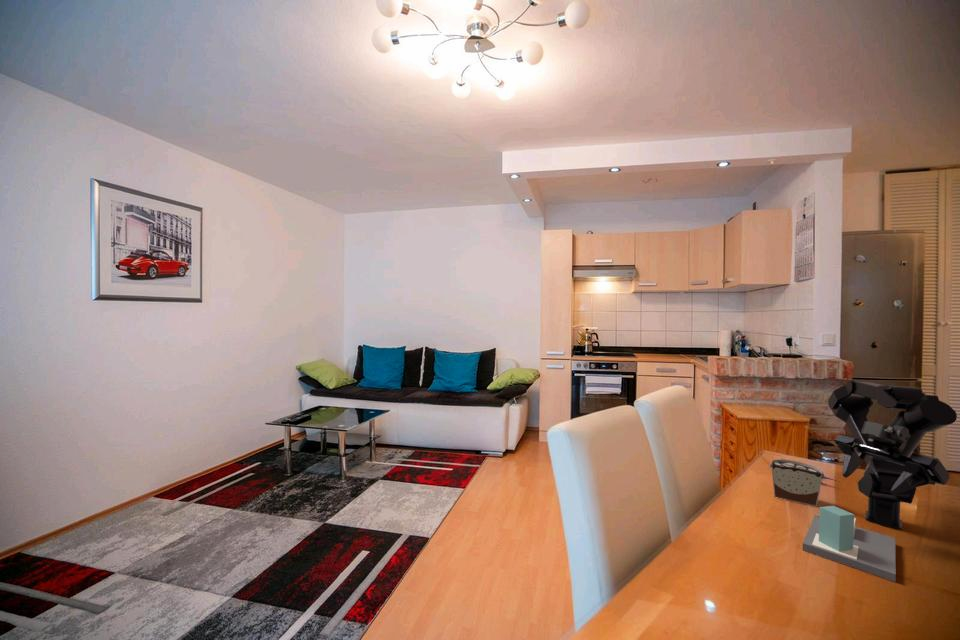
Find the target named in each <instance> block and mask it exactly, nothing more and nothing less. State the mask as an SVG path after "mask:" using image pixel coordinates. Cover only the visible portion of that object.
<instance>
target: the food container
mask: <svg viewBox="0 0 960 640" xmlns="http://www.w3.org/2000/svg"><path fill="white" fill-rule="evenodd" d="M782 459H783V458H782ZM782 459H781V458H780V459H778V458H777V459H772V461H771V462H770V463H769V468H768V470H770V469H771V473H772V474H771V475H772V484H773V497H774V498H775V497H778V498H777V499H779V498H782V499H781V500H784V499H786V500H785V501H788V500H790V501H789V502H793V501H795V502H794V503H797V502H800V503H799V504H802V503H804V504H803V505H807V504H808V505H807V506H811V505H812V506H811V507H816V508H817V507H818V504H819V503H818V502H819V497H820V490H821V486H822V485H821V482H822V479H823V478H824V480H826V479H825V477H826V476H825V477H824V475H825V474H824V472H823V469H821V468H820V467H817V466H815V465H812V464H810V463H809V464H808V463H805V462H802V461H797V460H791V459H786V460H782ZM822 477H823V478H822Z"/></svg>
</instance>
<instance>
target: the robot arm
mask: <svg viewBox="0 0 960 640" xmlns="http://www.w3.org/2000/svg"><path fill="white" fill-rule="evenodd" d="M873 400H876V403H877V404H878V405H880V407H882V408H884V409H887V410H888V409H889V410H900V411H898V412H897V413H896V415H895V416H894V417H893V419H892V420H891V422H889V424H888V425H886V424H883V423H877V422H873V421H870V420H869V419H868V414H869V413H870V409H871V407H872V406H873V405H874V402H873ZM827 403H828V407H829V409H831V411H832V413H833V414H834V416H835V417H837V418H838V419H839V420H840V421H842V422H844V423H846V425H847V427H848V430H849V431H850V433H851V435H848V434H838V435H837V436H836V438H835V439H834V440H833V441H834V443H835V444H836V446H837V447H838V448H839V449H840V451H841V452H842V454H843V459H844V460H843V468H842V476H843V478H848V477H850V476H851V475H852V474H853V473H854V472H855V471H856V470H858V469H859V468H860V467H861V466H862V465H863V464H864V461H865V463H866V468H865V469H864V473H863V476H862V477H861V478H860V479H859V480H858V482H857V487H858V492H860V493H861V494H863V495H864V496H865V497H867V499H868V500H867V510H866V511H865V517H864V519H865V520H866V521H868V522H873V523H876V524H879V525H883V526H886V527H891V528H894V529H897V530H900V531H901V530H903V521H902V519H900V517H901V515H900V514H901V503H906V504H910V505H911V504H912V503H913V500H914V497H915V494H916V491H917V488H919V487H923V486H927V485H933V486H935V485H936V484H939V485H942V486H944V485H946V484H947V483H948V481H949V480H950V473H949V472H948V470H947V468H946V467H945V466H944V464H943V463H942V462H941V460H940V459H939V458H938V457H934V456H929V455H926V454H923V453H919V452H920V450H921V448H920V446H919V444H920V442H921V441H922V440H923V439H924V437H925V436H926V434H927V433H932V432H935V431H937V430H940V429H942V428H945V427H948V426H950V425H952V424H953V423H956V420H957V417H958V415H957V412H956V410H955V409H953V408H952V407H951V406H950V405H949V404H947V403H946V402H944V401H942V400H940V399H939V396H938V395H930V394H926V393H925V392H923V389H921V388H920V387H918V386H904V385H889V384H879V383H875V382H871V381H868V380H864V379H863V380H862V379H861V380H860V379H850V380H847V381H846V382H845V384H844V385H842V386H840V387H839V388H836V389H834V390H833V391H832V393H831V394H830V396H829V397H828V399H827ZM901 410H902V411H901ZM913 452H914V453H913ZM863 460H864V461H863Z"/></svg>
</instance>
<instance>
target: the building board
mask: <svg viewBox="0 0 960 640" xmlns="http://www.w3.org/2000/svg"><path fill="white" fill-rule="evenodd" d="M813 516H814V517H813V519H812V521H811V523H810V525H809V527H808V530H807V533H806V535H805V537H804V540H803V542H802V551H805V552H806V553H807V552H808V553H810V554H813V555H815V556H818V557H821V558H823V559H824V558H825V559H827V560H831V561H834V562H837V563H840V564H842V565H844V566H848V567H850V568H854V569H856V570H859V571H862V572H865V573H867V574H870V575H873V576H877V577H879V578H882V579H886V580H887V581H891V582H894V583H896V579H897V577H896V574H897V573H896V571H897V570H896V569H897V567H896V566H897V565H896V537H893V536H890V535H886V534H883V533H879V532H875V531H873V530H868V529H867V528H866V529H865V528H861V527H858V526H856V524H857V523H856V521H857V519H856V517H854V537H853V550H847V551H837V550H835V549H833V548H831V547H829V546H827V545H825V544H823V543H821V542H819V515H817V514H814V515H813Z"/></svg>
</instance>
